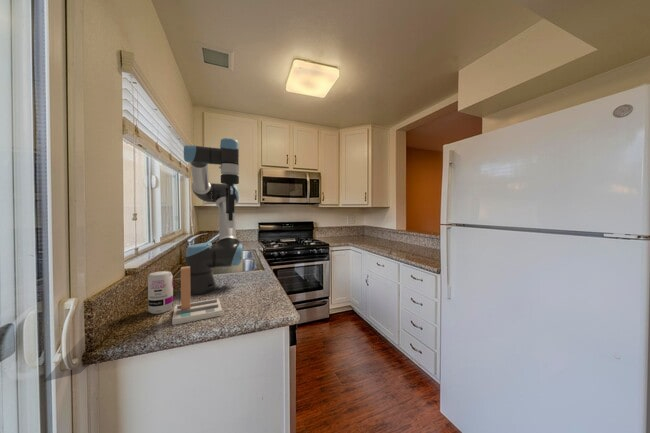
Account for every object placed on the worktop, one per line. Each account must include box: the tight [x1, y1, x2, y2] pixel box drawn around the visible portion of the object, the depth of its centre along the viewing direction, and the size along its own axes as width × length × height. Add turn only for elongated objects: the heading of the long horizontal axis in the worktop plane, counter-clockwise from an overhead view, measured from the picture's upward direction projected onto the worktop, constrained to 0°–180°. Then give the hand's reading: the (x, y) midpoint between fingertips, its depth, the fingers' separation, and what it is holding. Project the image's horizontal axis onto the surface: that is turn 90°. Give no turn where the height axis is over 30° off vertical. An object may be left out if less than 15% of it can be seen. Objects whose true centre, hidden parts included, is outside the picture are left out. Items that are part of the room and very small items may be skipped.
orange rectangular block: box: [180, 265, 192, 310], centre depth 90 cm, size 4×3×16 cm
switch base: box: [171, 298, 223, 326], centre depth 92 cm, size 14×16×3 cm
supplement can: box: [147, 270, 174, 315], centre depth 95 cm, size 8×8×15 cm
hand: (230, 227), depth 105 cm, fingers closed
